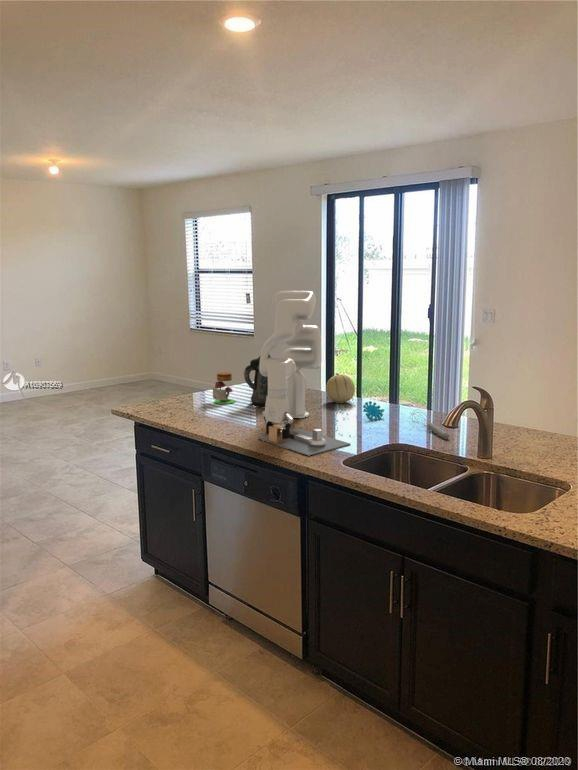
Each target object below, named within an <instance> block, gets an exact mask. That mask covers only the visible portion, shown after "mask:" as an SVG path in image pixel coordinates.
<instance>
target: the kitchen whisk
mask: <svg viewBox="0 0 578 770" xmlns="http://www.w3.org/2000/svg"><path fill="white" fill-rule="evenodd" d="M417 410H419V411H417ZM416 413H417V414H419V415H420V416H419V415H417V414H416ZM409 414H410V415H409V417H408V418H409V419H411V418H413V417H414V418H415V420H417V417H418V420H420V421H421V419H419V418H422V419H423V420H424V421H423V422H424V423H425V424H427V425H425V424H422V423H421V427H423V428H427V429H429V430H430V431H432V432H433V433H435V434H436V435H438V436H439V437H440V438H441V439H443V438H444V439H443V440H445V439H447V440H448V441H450V435H449V433H448V432H446V431H445V430H443V429H442V428H440V427H439V426H437V425H436V424H435V423H433V422H431V420H430V418H429V417H428V415H426V413H425V412H424V411H423V410H421V411H420V409H418V408H417V409H416V410H415V409H414V410H413V412H409ZM421 414H423V415H425V417H426V418H427V419H426V418H425V417H424V416H423V415H421ZM411 416H412V417H411ZM410 417H411V418H410ZM427 420H428V421H427ZM411 421H412V422H414V420H413V419H411ZM426 422H427V423H426ZM415 423H417V424H418V421H417V422H416V421H415ZM424 425H425V426H424ZM448 438H449V439H448Z"/></svg>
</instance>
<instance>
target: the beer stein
mask: <svg viewBox="0 0 578 770" xmlns="http://www.w3.org/2000/svg"><path fill="white" fill-rule="evenodd" d="M268 358H272V357H271V355H270V354H269V355H268ZM259 364H260V356H258V357H257V358H255V359H251V360H250V362H249V365H247V366H246V367H245V368H244V372H243V376H244V381H245V382H246V383H245V384H247V386H249V388H251V390H252V395H251V396H250V402H251V405H252V406H253V405H254V406H253V407H255V406H258V407H257V408H261V407H265V404H266V398H267V396H268V377H266V376H263V375H261V373H260V370H259ZM252 371H255V372H254V377H253V381H252V379H251V378H250V373H251V372H252Z"/></svg>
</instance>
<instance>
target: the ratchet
mask: <svg viewBox="0 0 578 770" xmlns="http://www.w3.org/2000/svg"><path fill="white" fill-rule="evenodd" d="M290 430H291V429H289V438H291V439H295V440H298V441H301V442H304V443H308V444H309V446H311V447H324V446H326V440H325V439H323V438H322V435H323V429H320V428H313V429H312V432H313V438H311V437H307V436H304V435H301V434H299V433H297V432H293V431H290Z"/></svg>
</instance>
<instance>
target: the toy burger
mask: <svg viewBox="0 0 578 770" xmlns="http://www.w3.org/2000/svg"><path fill="white" fill-rule="evenodd" d="M216 380H217V381H216V382H215V385H214V386H211V387H212V399H214V403H215V404H216V403H217V404H218V405H230V404H231V403H232V404H235V403H236V400H235V399H232V398H229V395H230V393H232V392H234V391H233V389H232V388H231V387H230V386H226V385H227V384H225V383H224V382H228V381H229V382H230V381H232V372H228V371H221V372H218V373H216ZM223 387H225V388H224V389H223ZM234 402H235V403H234ZM217 404H216V405H217Z"/></svg>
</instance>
